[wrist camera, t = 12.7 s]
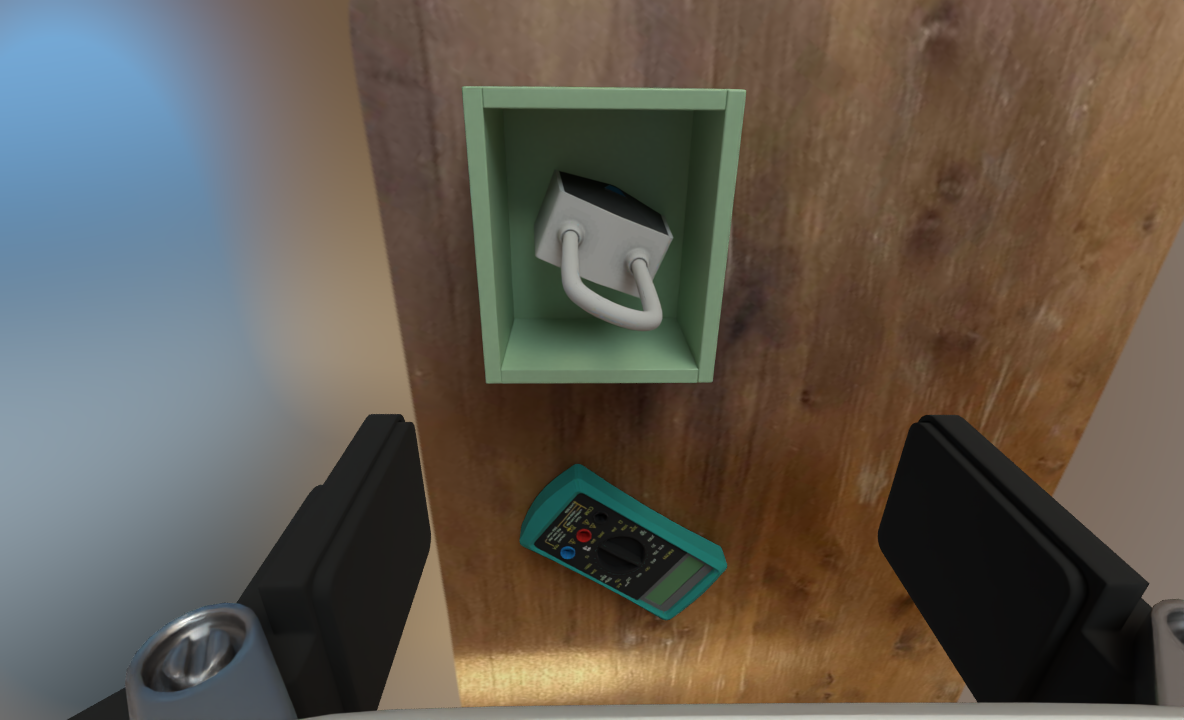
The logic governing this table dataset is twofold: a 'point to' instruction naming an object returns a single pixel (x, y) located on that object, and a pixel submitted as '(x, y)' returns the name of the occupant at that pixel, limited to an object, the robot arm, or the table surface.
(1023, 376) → the table surface
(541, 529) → the digital multimeter
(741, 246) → the table surface
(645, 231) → the padlock
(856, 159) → the table surface
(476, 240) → the holder
